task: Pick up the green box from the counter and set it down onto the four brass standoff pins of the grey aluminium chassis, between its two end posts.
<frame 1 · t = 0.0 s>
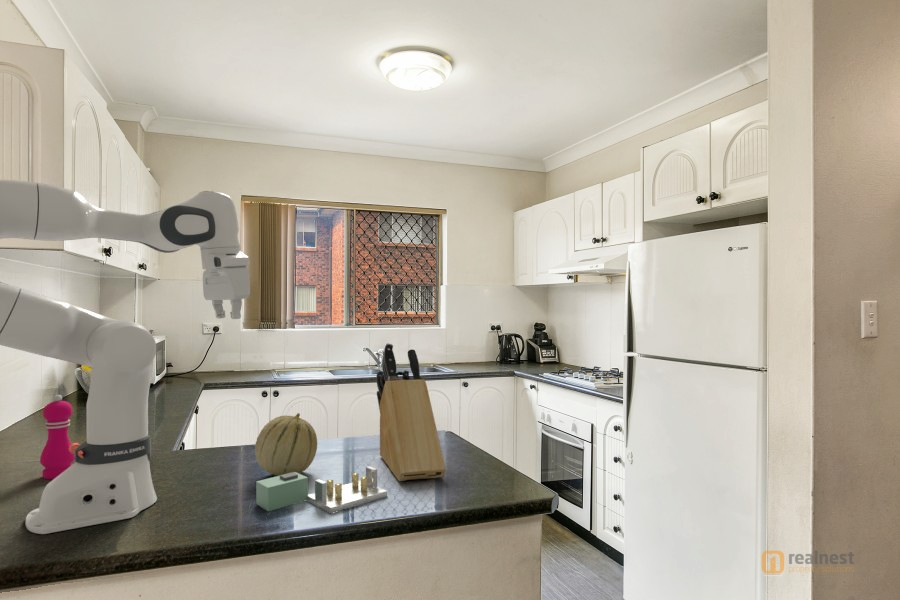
hand: (228, 318, 130), 39 cm above the counter, tool pointing down, fingers open, 8 cm apart
knife block: (406, 464, 143), on the counter
green box: (282, 502, 116), on the counter
cantaloupe: (287, 476, 134), on the counter
chassis: (347, 498, 117), on the counter
pepper mill: (58, 476, 135), on the counter
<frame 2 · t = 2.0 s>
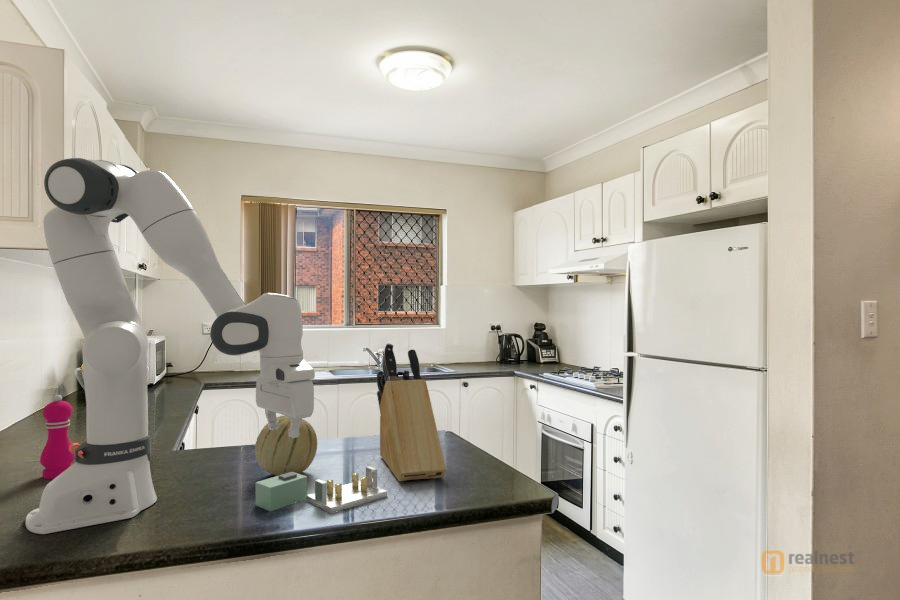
hand: (283, 433, 116), 15 cm above the counter, tool pointing down, fingers open, 8 cm apart
nothing on the counter moved.
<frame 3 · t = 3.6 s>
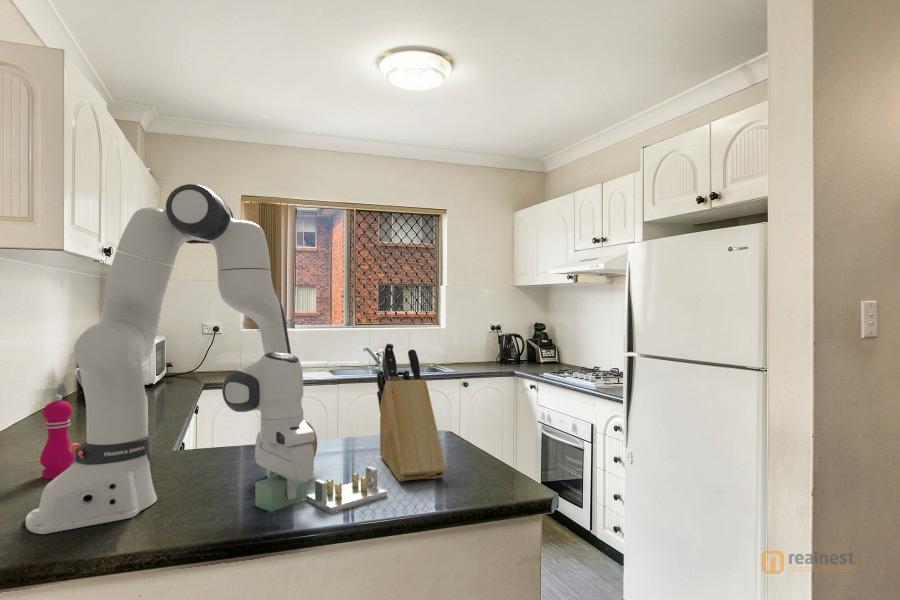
hand: (282, 493, 116), 2 cm above the counter, tool pointing down, fingers closed on green box, 6 cm apart
green box: (281, 502, 116), on the counter, touching gripper
everything else where it was.
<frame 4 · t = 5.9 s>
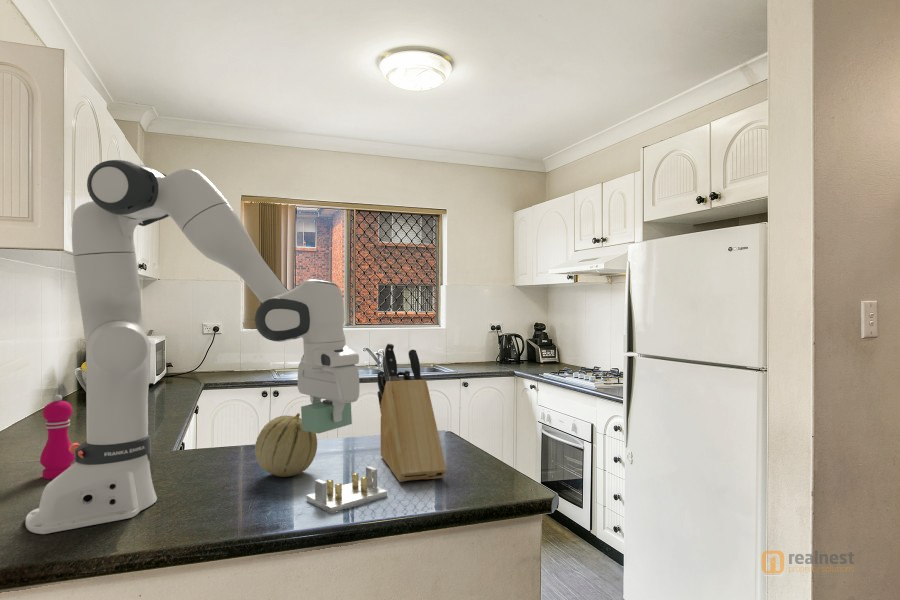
hand: (327, 418, 117), 18 cm above the counter, tool pointing down, fingers closed on green box, 6 cm apart
green box: (327, 426, 117), point 16 cm above the counter, touching gripper
everything else where it was.
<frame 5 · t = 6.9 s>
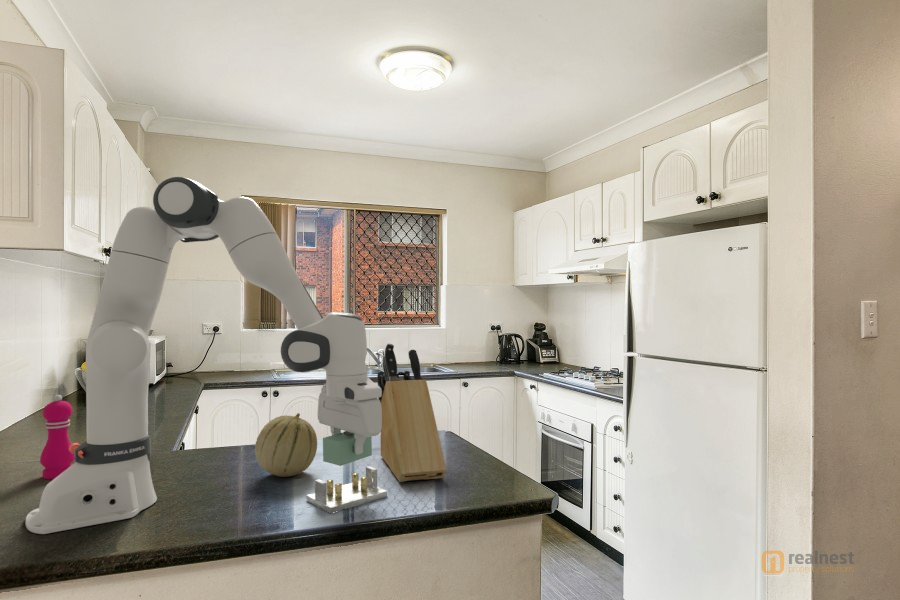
hand: (348, 450, 118), 10 cm above the counter, tool pointing down, fingers closed on green box, 6 cm apart
green box: (347, 458, 118), point 9 cm above the counter, touching gripper
everything else where it was.
when the fingers open (7 cm above the counter, at t = 8.0 s): green box stays where it is, resting on chassis.
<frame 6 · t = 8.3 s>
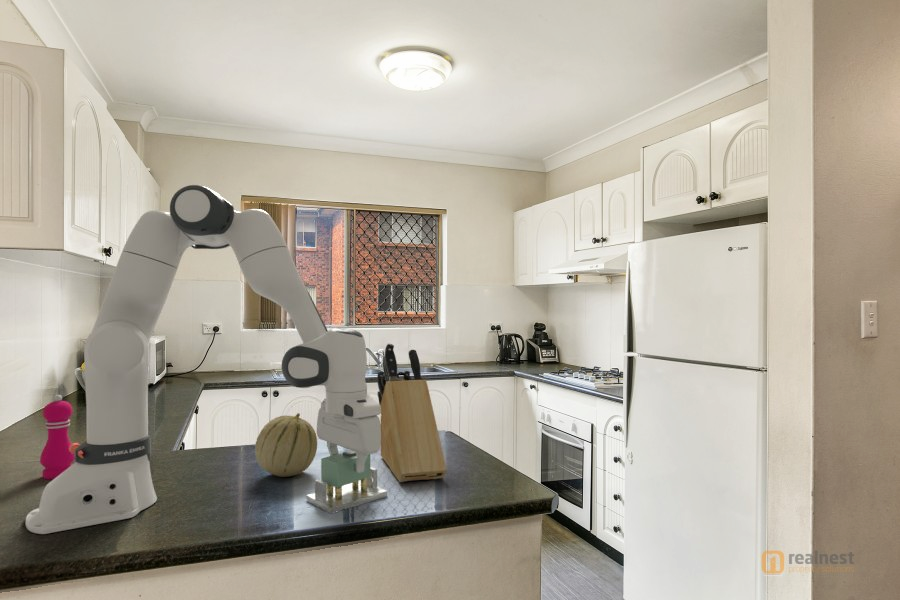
hand: (346, 466, 117), 7 cm above the counter, tool pointing down, fingers open, 8 cm apart
green box: (346, 479, 117), point 4 cm above the counter, touching chassis
everything else where it was.
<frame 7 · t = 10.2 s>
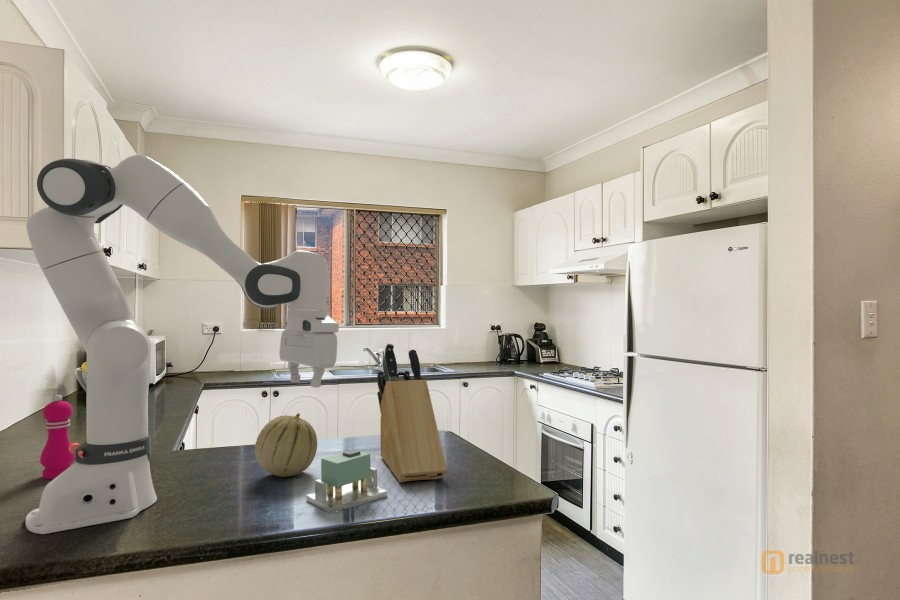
hand: (305, 384, 122), 24 cm above the counter, tool pointing down, fingers open, 8 cm apart
nothing on the counter moved.
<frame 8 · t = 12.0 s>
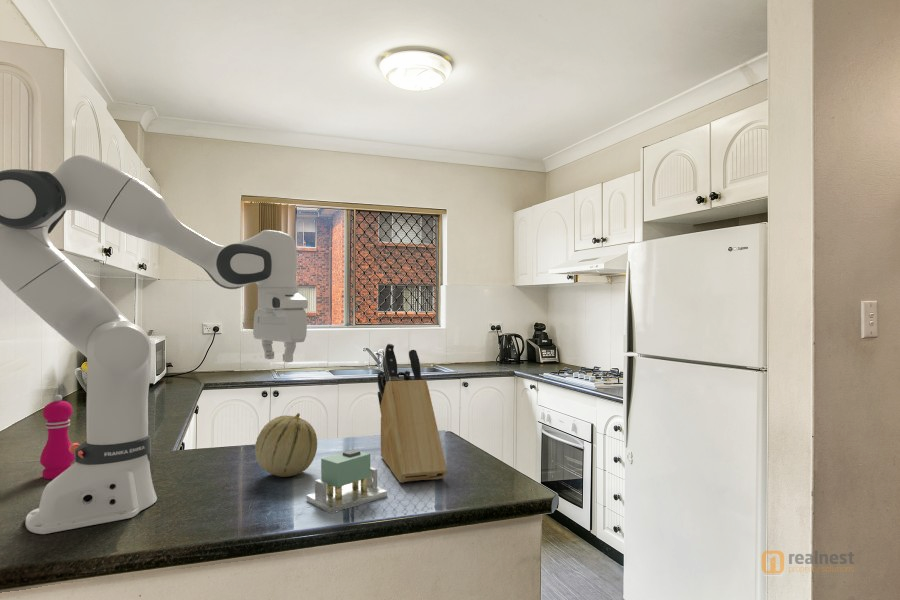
hand: (278, 360, 126), 29 cm above the counter, tool pointing down, fingers open, 8 cm apart
nothing on the counter moved.
at the end: green box 0.2 cm off-centre on the chassis, point 4.2 cm above the chassis's base; green box tilted 0°; the gripper is holding nothing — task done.
